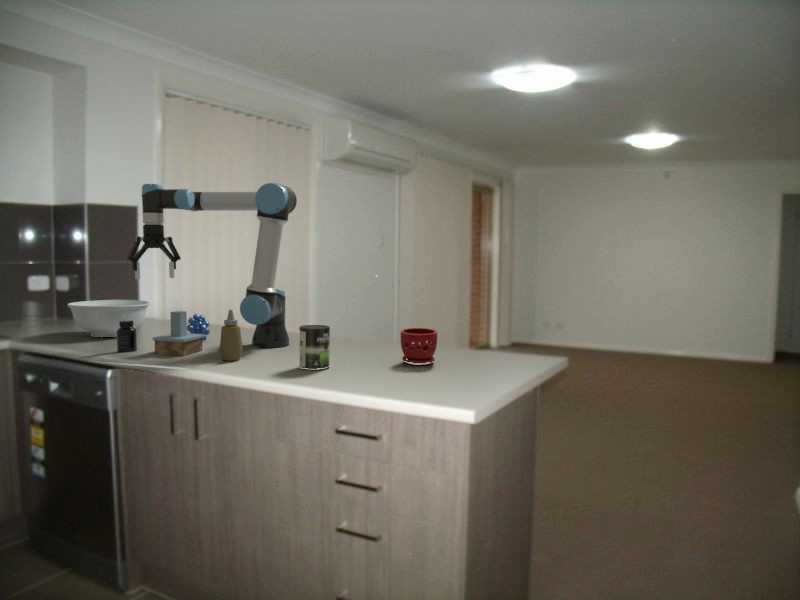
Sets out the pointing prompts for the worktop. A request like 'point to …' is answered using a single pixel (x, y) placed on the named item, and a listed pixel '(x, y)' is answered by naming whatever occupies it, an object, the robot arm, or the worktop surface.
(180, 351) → the box
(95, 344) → the worktop surface
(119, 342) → the supplement bottle
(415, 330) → the plant pot
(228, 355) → the squeeze bottle
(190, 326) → the grapes
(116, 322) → the bowl
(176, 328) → the lid
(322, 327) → the coffee can
